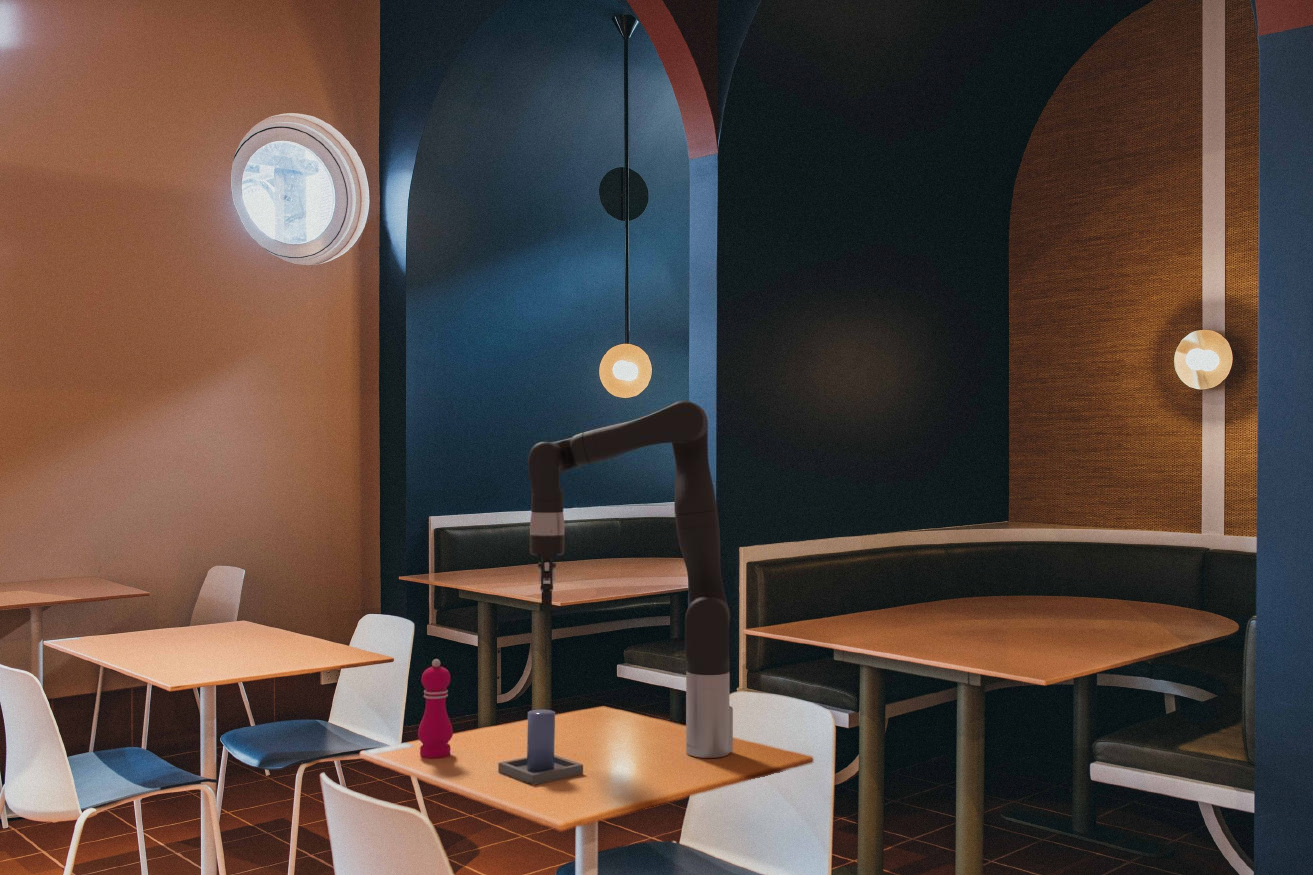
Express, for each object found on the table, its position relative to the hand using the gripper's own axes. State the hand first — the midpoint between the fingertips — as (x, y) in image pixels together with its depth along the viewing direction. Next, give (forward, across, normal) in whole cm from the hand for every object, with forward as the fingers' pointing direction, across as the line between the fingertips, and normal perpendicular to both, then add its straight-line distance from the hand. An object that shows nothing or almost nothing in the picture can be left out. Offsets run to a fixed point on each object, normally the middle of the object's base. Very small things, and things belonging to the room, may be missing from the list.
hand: (546, 607), depth 236 cm
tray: (+30, -21, +1) cm, 37 cm away
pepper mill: (+30, -5, +23) cm, 39 cm away
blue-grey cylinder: (+29, -21, +1) cm, 36 cm away
